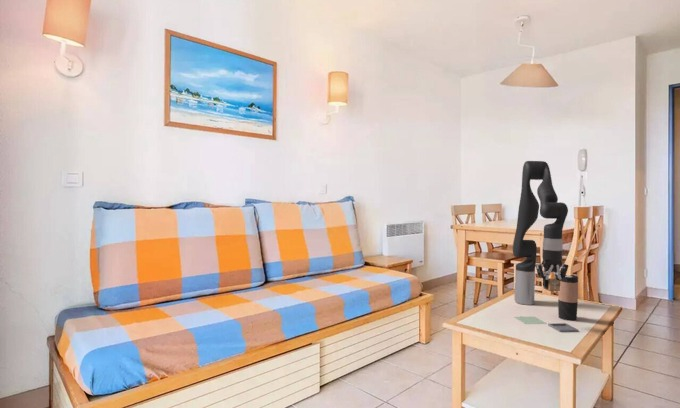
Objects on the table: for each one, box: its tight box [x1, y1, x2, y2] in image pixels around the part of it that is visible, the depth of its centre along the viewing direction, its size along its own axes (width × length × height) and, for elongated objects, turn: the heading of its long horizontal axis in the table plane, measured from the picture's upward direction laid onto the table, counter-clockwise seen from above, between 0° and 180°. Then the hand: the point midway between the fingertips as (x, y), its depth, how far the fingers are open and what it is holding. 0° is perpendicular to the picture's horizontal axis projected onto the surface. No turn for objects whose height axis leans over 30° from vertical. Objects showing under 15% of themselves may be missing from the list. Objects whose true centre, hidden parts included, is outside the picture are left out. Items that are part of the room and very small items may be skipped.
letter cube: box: [542, 277, 560, 292], centre depth 165 cm, size 5×4×5 cm
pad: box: [513, 316, 548, 325], centre depth 172 cm, size 10×10×1 cm
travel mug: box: [557, 274, 579, 322], centre depth 175 cm, size 8×8×20 cm
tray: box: [547, 322, 579, 333], centre depth 161 cm, size 8×8×1 cm
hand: (551, 287), depth 165 cm, fingers closed on letter cube, 4 cm apart
